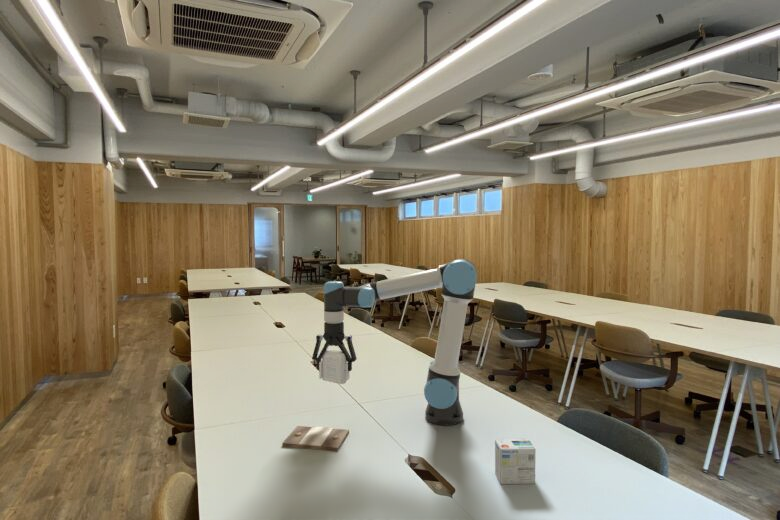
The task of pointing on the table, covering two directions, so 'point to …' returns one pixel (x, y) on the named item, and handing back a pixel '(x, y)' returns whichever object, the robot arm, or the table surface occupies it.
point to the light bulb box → (515, 461)
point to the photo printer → (334, 366)
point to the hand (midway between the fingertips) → (334, 378)
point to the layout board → (316, 438)
